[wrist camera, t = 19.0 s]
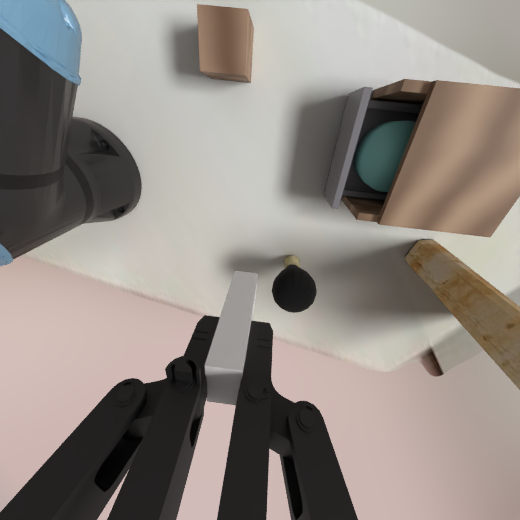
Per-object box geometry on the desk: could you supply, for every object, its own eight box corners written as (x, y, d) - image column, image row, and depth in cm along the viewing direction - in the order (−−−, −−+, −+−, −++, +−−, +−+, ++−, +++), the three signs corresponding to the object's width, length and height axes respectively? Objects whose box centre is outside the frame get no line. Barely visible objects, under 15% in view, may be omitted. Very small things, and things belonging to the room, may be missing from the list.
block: (212, 78, 29) (199, 70, 24) (210, 23, 26) (197, 4, 22) (250, 82, 28) (245, 75, 24) (253, 27, 26) (248, 9, 22)
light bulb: (273, 244, 40) (270, 285, 30) (311, 243, 40) (321, 285, 29) (274, 274, 44) (271, 320, 34) (309, 274, 43) (317, 321, 33)
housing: (342, 200, 35) (358, 222, 28) (374, 90, 28) (408, 77, 20) (444, 212, 35) (490, 237, 27) (504, 103, 27) (591, 95, 20)
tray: (324, 194, 35) (332, 208, 29) (348, 94, 28) (364, 87, 22) (440, 207, 34) (470, 224, 29) (493, 108, 27) (546, 105, 22)
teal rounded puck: (402, 187, 32) (415, 193, 29) (347, 183, 33) (353, 189, 30) (427, 122, 28) (444, 122, 25) (363, 119, 28) (372, 118, 25)
